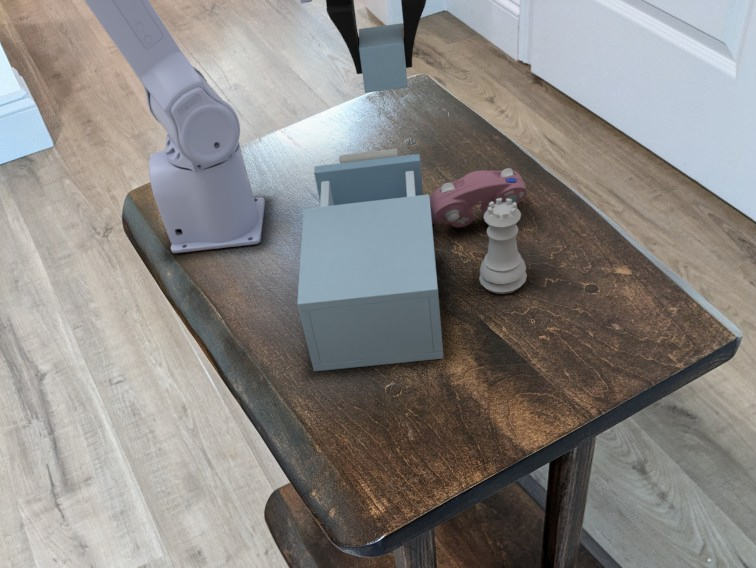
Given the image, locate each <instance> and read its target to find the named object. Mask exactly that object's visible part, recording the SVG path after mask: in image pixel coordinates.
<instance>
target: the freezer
mask: <svg viewBox="0 0 756 568" xmlns="http://www.w3.org/2000/svg"><path fill="white" fill-rule="evenodd" d="M430 196H431V195H430V194H429V193H428V194H423V195H419V196H410V197H402V198H393V199H384V200H376V201H367V202H359V203H350V204H341V205H333V206H324V207H320V206H316V207H308V208H303V213H302V225H301V241H300V242H301V243H300V256H299V257H300V258H299V270H298V287H297V302H296V305H297V309H298V314H299V317H300V322H301V325H302V330H303V333H304V337H305V342H306V345H307V349H308V350H307V351H308V353H309V358H310V363H311V365H312V368H313V372H323V371H333V370H343V369H354V368H362V367H363V368H364V367H373V366H381V365H382V366H383V365H392V364H402V363H411V362H422V361H433V360H440V359H444V346H443V335H442V334H443V333H442V322H441V311H440V310H441V309H440V298H439V287H438V275H437V264H436V254H435V253H436V252H435V242H434V231H433V230H434V229H433V224H432V218H431V207H430Z"/></svg>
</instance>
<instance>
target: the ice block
mask: <svg viewBox="0 0 756 568" xmlns="http://www.w3.org/2000/svg"><path fill="white" fill-rule="evenodd" d="M358 36H359V52H360V59H361V67H362V74H361V75H362V80H363V81H362V82H363V89H364V93H365V94H366V93H367V94H368V93H374V92H375V93H376V92H383V91H390V90H391V91H392V90H397V89H405V88H406V89H407V88H408V85H409V84H408V75H407V74H408V72H407V68H406V62H405V52H404V35H403V22H402V23H394V24H385V25H379V26H372V27H363V28H359V29H358Z"/></svg>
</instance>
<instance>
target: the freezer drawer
mask: <svg viewBox="0 0 756 568" xmlns="http://www.w3.org/2000/svg"><path fill="white" fill-rule="evenodd" d="M338 160H339V163H332V164H324V165H316V166H314V171H313V174H314V179H315V183H316V184H315V185H316V190H317V194H318V200H319V207H324V206H333V205H341V204H350V203H359V202H367V201H376V200H384V199H393V198H402V197H410V196H419V195H424V189H423V176H422V167H421V156H420V153H417V154H408V155H399V149H398V148H389V149H381V150H373V151H372V150H371V151H363V152H356V153H347V154H340V155H339V159H338Z"/></svg>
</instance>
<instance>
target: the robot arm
mask: <svg viewBox="0 0 756 568" xmlns="http://www.w3.org/2000/svg"><path fill="white" fill-rule="evenodd" d="M83 1H84V3H85V4H86V5H87V7H88V8H89V10H90V11H91V13H92V14H93V16H94V17H95V18H96V20H97V21H98V23H99V24H100V25H101V27H102V28H103V30H104V31H105V32H106V34H107V35H108V37H109V38H110V39H111V41H112V42H113V44H114V45H115V47H116V48H117V49H118V51H119V52H120V54H121V55H122V56H123V58H124V59H125V61H126V62H127V63H128V65H129V66H130V68H131V69H132V71H133V73H134V74H135V76H136V77H137V79H138V80H139V81H140V83H141V85H142V86H143V89H144V92H145V96H146V97H145V98H146V104H147V106H148V109H149V111H150V114H151V115H152V117H153V118H154V120H155V121H157V122H158V123H159V124H160V125H161V126H162V128H163V129H164V131H165V132H166V133H167V134H166V139H165V149H162V150H159V151H156V152H153V153H151V154H150V156H149V160H148V175H149V181H150V187H151V191H152V194H153V198H154V201H155V203H156V206H157V209H158V211H159V215H160V217H161V220H162V223H163V226H164V228H165V231H166V234H167V237H168V240H169V241H170V244H171V245H170V251H171V253H173V254H181V253H190V252H198V251H199V252H200V251H207V250H214V249H215V250H217V249H223V248H224V249H225V248H231V247H232V248H233V247H242V246H251V245H258V244H259V243H260V242H261V239H262V231H263V223H264V214H265V207H266V206H265V204H266V200H265V198H264V197H262V196H260V197H254V193H253V190H252V185H251V182H250V179H249V174H248V171H247V167H246V163H245V159H244V156H243V152H242V148H241V144H240V141H239V140H240V137H241V125H240V120H239V117H238V114H237V113H236V111H235V110H234V108H233V107H232V105H231V104H229V103H228V102H227V101H225V100H224V99H222V97H221V96H220V95H219V94H218V93H217V91H216V90H215V89H214V87H212V86H211V85H210V84H209V82H208V80H207V79H206V78H205V76H204V75H203V73H202V72H201V71H200V70H199V69H198V68H196V67H195V66H193V65H192V64H191V62H190V61H189V60H188V58H187V57H186V55H185V54H184V53H183V51H182V50H181V49H180V47H179V46H178V44H177V42H176V41H175V39H174V38H173V36H172V34H171V33H170V32H169V30H168V28H167V26H166V25H165V23H164V22H163V20H162V19H161V17H160V15H159V14H158V13H157V11H156V9H155V8H154V7H153V5H152V3H151V2H150V0H83ZM299 1H300V4H305V3H311V2H312V1H313V0H299ZM354 1H355V0H325V4H326V7H325V9H326V12H327V15H328V16H329V19H330V21H331V22H332V23H333V25H334V26H335V28H336V29H337V31H338V33H339V34H340V36H341V37H342V39H343V41H344V43H345V45H346V47H347V49H348V51H349V54H350V56H351V59H352V61H353V65H354V69H355V73H356V75H363V74H362V67H361V59H360V52H359V30H358V25H357V17H356V9H355V2H354ZM400 3H401V13H402V14H401V15H402V28H403V39H404V52H405V62H406V69H409V68H410V69H411V68H413V54H414V47H415V41H416V35H417V31H418V27H419V24H420V20H421V18H422V15H423V12H424V11H425V7H426V3H427V0H400Z"/></svg>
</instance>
